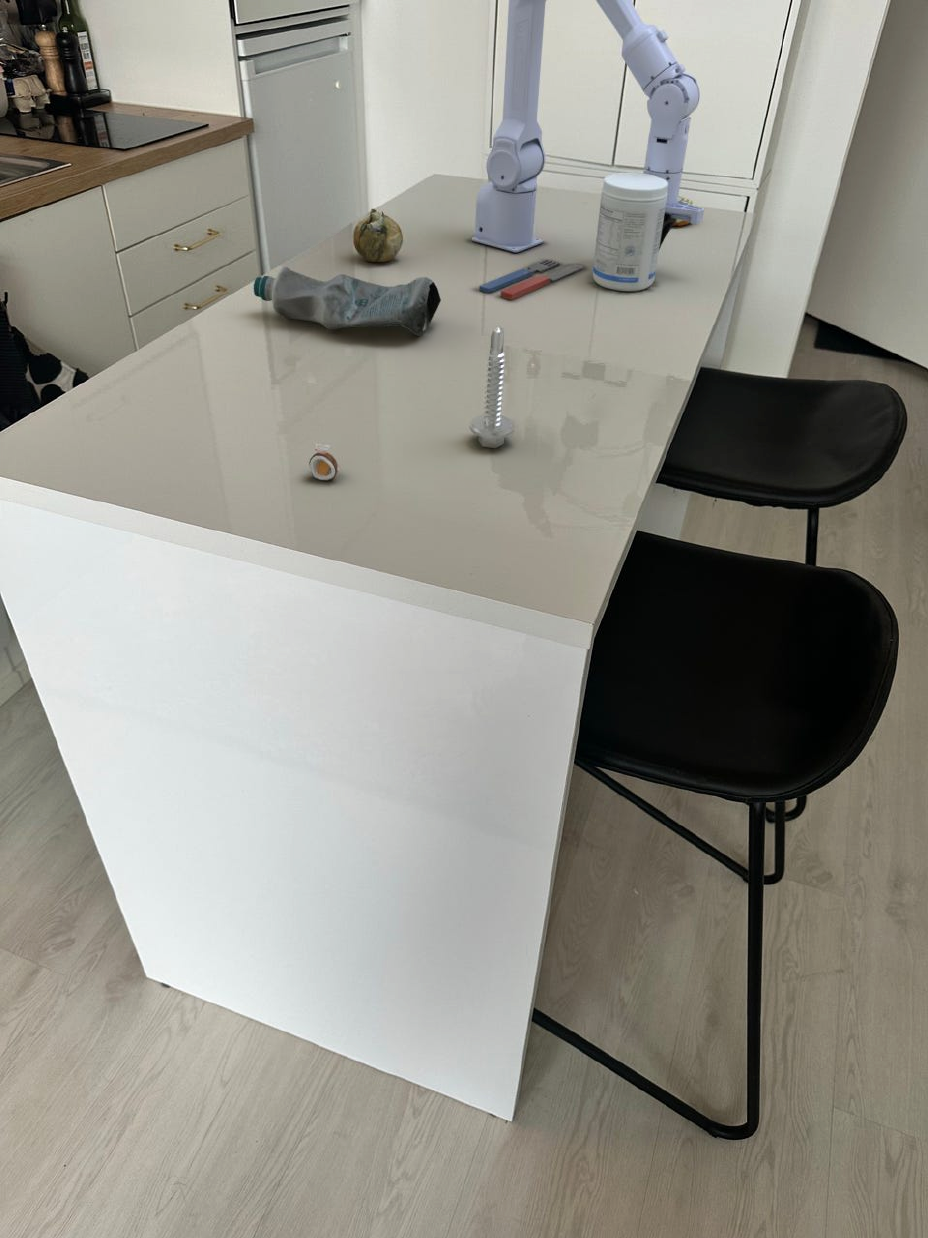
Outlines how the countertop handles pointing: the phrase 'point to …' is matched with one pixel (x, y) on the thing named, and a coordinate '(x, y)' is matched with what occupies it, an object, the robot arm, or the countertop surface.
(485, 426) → the screw
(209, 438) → the countertop surface
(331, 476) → the chocolate
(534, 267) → the fork
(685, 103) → the robot arm
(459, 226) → the countertop surface
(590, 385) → the countertop surface
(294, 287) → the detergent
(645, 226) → the supplement tub
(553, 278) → the knife
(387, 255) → the onion
